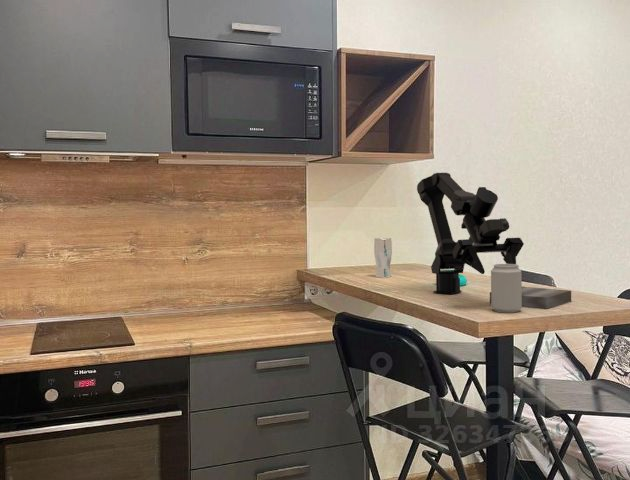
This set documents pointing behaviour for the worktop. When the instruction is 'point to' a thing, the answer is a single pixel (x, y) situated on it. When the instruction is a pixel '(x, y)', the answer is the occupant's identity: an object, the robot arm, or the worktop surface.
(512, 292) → the can
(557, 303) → the plinth
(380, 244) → the white piece
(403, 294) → the worktop surface
